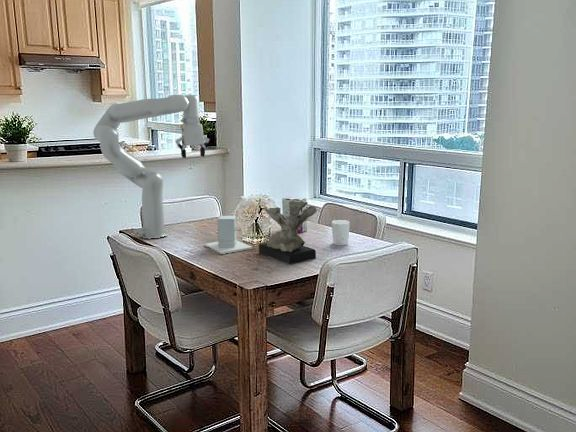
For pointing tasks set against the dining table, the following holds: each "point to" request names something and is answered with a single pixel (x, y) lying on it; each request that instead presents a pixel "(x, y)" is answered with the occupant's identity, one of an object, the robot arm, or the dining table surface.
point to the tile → (224, 250)
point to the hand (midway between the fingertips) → (193, 157)
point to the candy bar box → (286, 211)
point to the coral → (289, 235)
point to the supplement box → (227, 231)
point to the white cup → (340, 232)
